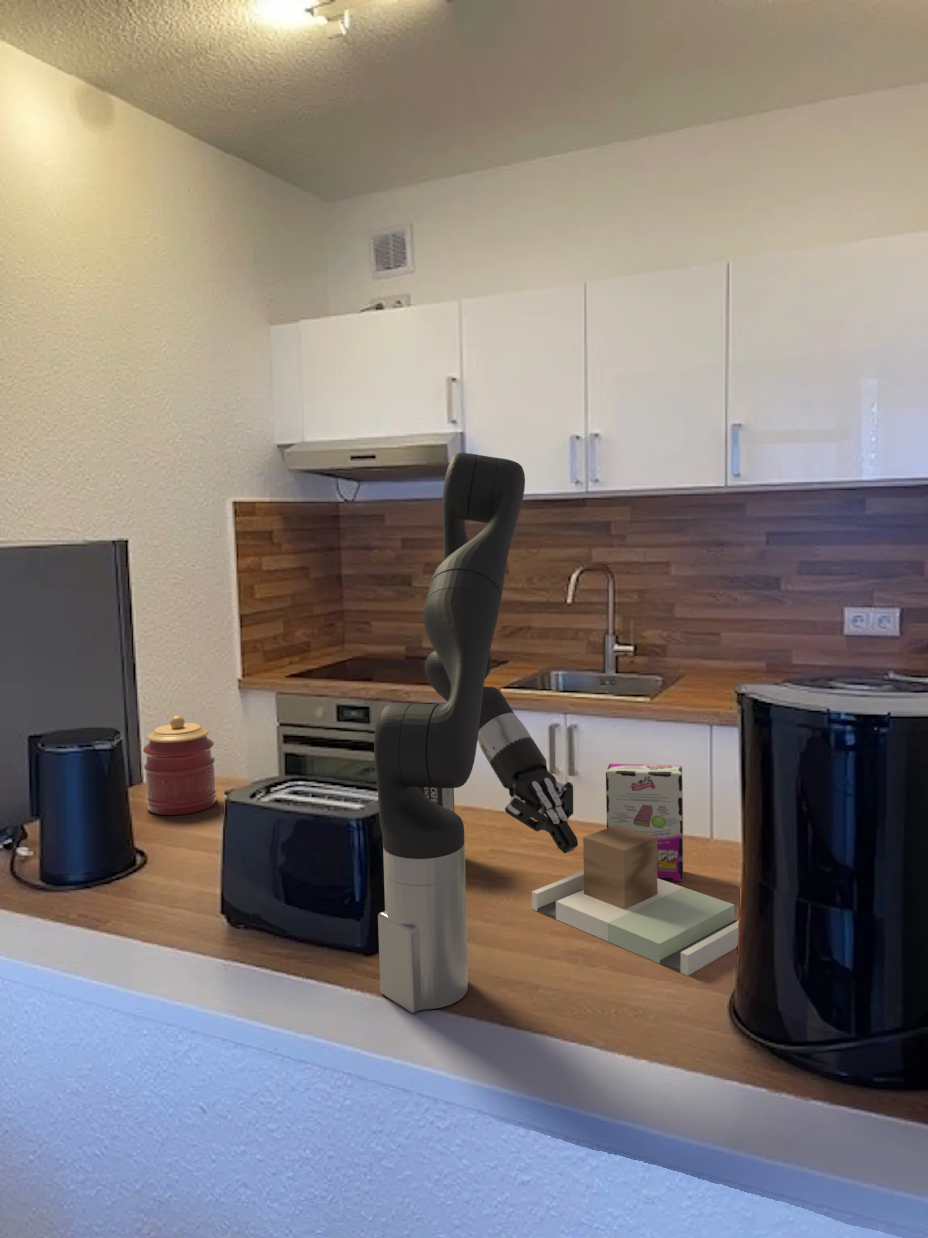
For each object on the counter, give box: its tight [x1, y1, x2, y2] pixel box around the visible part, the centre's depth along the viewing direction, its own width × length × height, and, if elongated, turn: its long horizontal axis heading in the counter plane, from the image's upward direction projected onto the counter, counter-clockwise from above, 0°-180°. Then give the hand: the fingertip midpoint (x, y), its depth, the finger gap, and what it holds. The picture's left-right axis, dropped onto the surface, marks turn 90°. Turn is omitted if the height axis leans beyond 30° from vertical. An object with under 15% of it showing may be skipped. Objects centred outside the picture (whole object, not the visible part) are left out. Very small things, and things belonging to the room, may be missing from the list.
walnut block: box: [582, 825, 657, 910], centre depth 123 cm, size 7×7×8 cm
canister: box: [142, 715, 217, 816], centre depth 175 cm, size 13×13×18 cm
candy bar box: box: [605, 763, 684, 882], centre depth 136 cm, size 11×5×16 cm, turn 76°
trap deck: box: [531, 870, 739, 976], centre depth 121 cm, size 16×26×2 cm, turn 41°
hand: (571, 849), depth 130 cm, fingers closed
